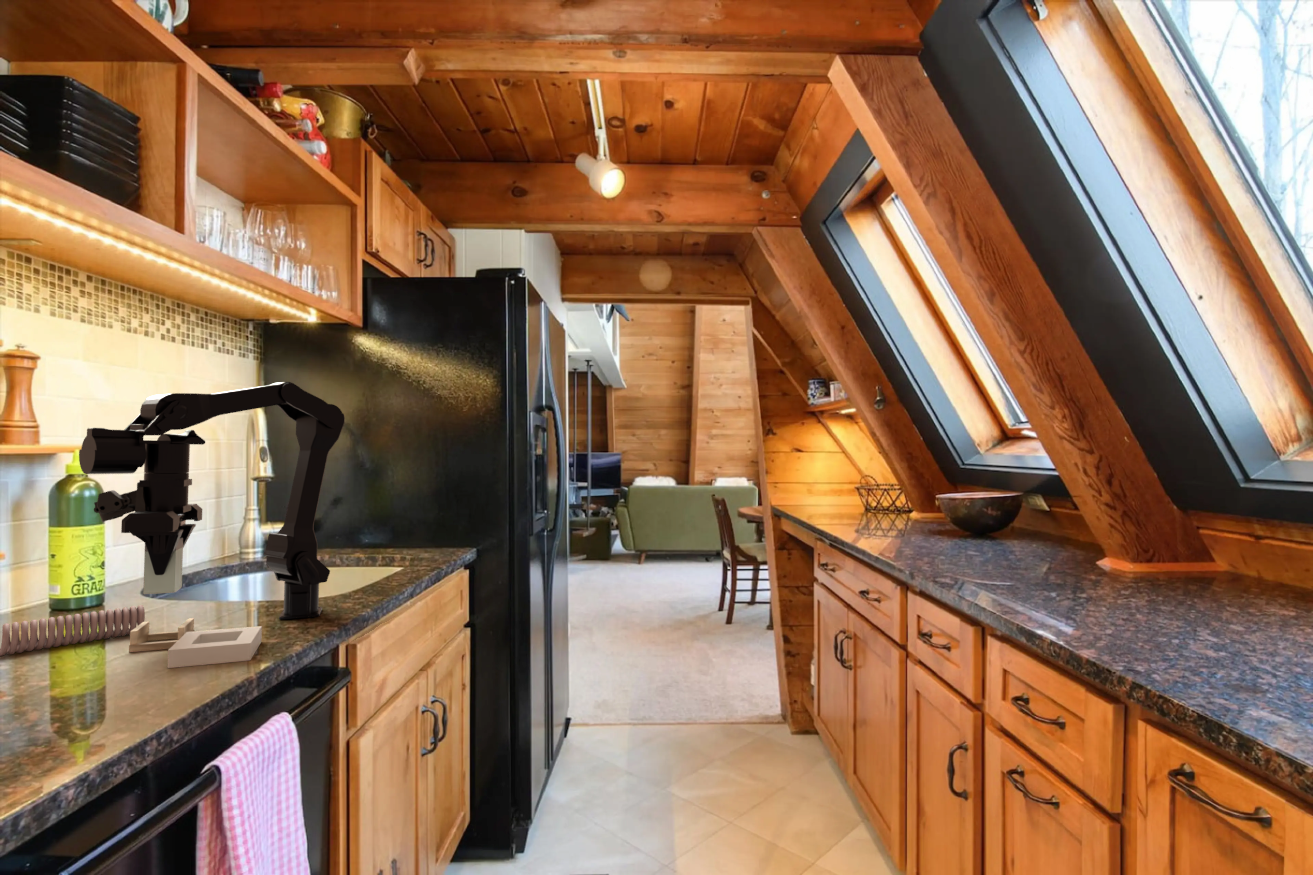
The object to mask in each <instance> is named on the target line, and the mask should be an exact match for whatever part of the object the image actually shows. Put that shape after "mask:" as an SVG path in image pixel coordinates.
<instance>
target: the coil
mask: <svg viewBox="0 0 1313 875" xmlns="http://www.w3.org/2000/svg"><path fill="white" fill-rule="evenodd" d="M145 615H146V613H145V607H144V605H142V604H140V605H137V607H136V606H135V605H131V606H130V607H129V608H128V606H125V607H122V609H121V608H119V607H117V608H115V609H114V610H113V609H111V608H108V609H107V610H106V611H105V610H99V611H98V612H96V611H91V612H90V613H88V612H83V613H82V615H81V614H80V613H75V614H74V615H73V616H72V615H71V614H67V615H66V616H65V618H64V616H63V615H59V616H57V617H56V618H55V617H53V616H50V617H49V618H48V619H46V618H43V617H42V618H39V621H38V620H37V619H32V620H31V621H30V622H28V620H23V621H21V623H20V622H17V621H14V622H12V624H11V625H10V624H9V623H7V622H6V623H3V624H2V627H1V628H2V634H1V643H0V657H3V656H5V655H6V654H7V655H14V654H15V652H16V654H21V653H24V652H25V651H26V652H32V651H33V650H36V651H38V650H39V651H40V650H42V648H44V649H50V648H51V647H53V648H58V647H60V646H68V645H75V644H77V643H79V644H81V643H82V644H84V643H85V642H86V641H87V642H93V641H94V640H96V641H100V640H102V639H103V640H107V639H110V638H113V639H114V638H117V637H118V636H119V637H125V636H126V635H128V636H130V631H132V630H133V629H134V628H136V627H137V626H138V625H140V624H141V623H142V622H146V618H145V617H146V616H145ZM10 631H11V632H10ZM64 631H65V632H64ZM38 633H39V634H38Z"/></svg>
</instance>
